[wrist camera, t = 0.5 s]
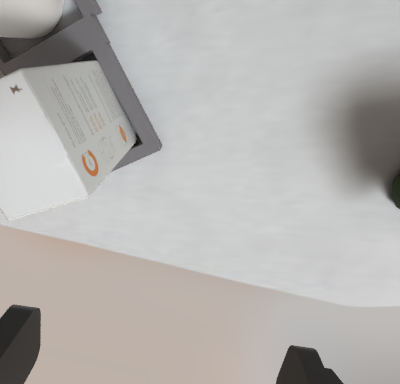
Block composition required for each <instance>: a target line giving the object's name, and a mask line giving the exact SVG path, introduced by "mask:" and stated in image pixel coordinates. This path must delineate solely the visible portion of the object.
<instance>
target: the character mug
mask: <svg viewBox="0 0 400 384" xmlns="http://www.w3.org/2000/svg"><path fill="white" fill-rule="evenodd" d="M392 197H393V200H394V202H395V205H396V207H398V208H399V209H400V174H399V175H398V177H397V178H396V179H395V181H394V184H393V190H392Z"/></svg>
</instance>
